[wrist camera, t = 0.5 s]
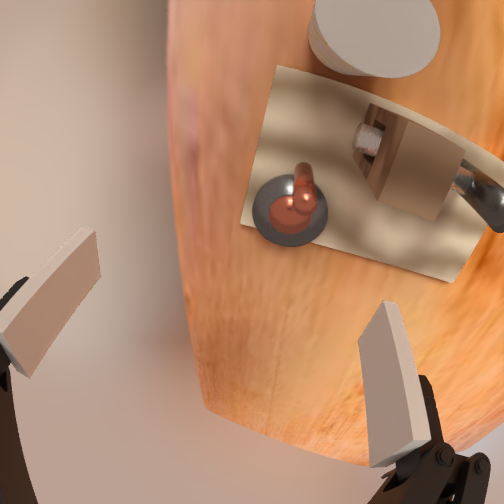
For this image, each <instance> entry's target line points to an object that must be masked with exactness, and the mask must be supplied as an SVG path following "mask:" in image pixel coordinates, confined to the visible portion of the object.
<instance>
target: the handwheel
mask: <svg viewBox="0 0 504 504" xmlns="http://www.w3.org/2000/svg"><path fill="white" fill-rule="evenodd" d="M252 217H253V221H254V224H255V226H256V228H257V230H258V231H259V232H260V233H261V234H262V235H263V236H264V237H265V238H266V239H267V240H269V241H271V242H273V243H275V244H278V245H281V246H287V247H296V246H301V245H305V244H307V243H309V242H311V241H313V240H314V239H316V238H317V237H318V236H319V235H320V234H321V233H322V231H323V230H324V228H325V226H326V224H327V221H328V206H327V201H326V198H325V195H324V193H323V192H322V190H321V189H320V188H319V187H318V186H317V185H316V184H315V182H314V175H313V168H312V166H311V165H310V164H309V163H307V162H300V163H298V164H297V165H296V166H295V169H294V175H293V174H286V175H280V176H277V177H274V178H272V179H270V180H269V181H267V182H266V183H265V184H263V185H262V187H261V188H260V189H259V190H258V192H257V194H256V196H255V199H254V203H253V207H252Z"/></svg>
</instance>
